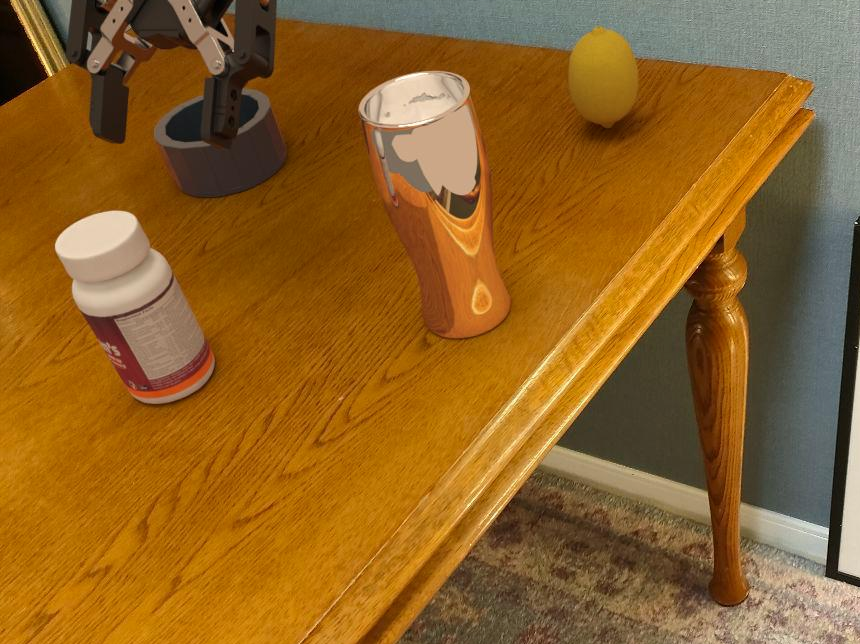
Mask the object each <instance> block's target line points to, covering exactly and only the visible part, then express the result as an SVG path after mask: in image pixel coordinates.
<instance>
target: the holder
mask: <svg viewBox="0 0 860 644" xmlns="http://www.w3.org/2000/svg"><path fill="white" fill-rule="evenodd" d="M203 97H204V94H201V95H199V96H196V97H194V98H191V99H189V100H187V101H184V102H183V103H180V104H178V105H177V106H175V107H174V108H172V109H171V110H170V111H168V112H166V113H165V114H164V115H163V116H162V117H161V118H160V119H159V121H158V122H157V123H156V125H155V126H154V128H153V131H154V132H153V138H154V142H155V143H156V145H157V148H158V150H159V152H160V154H161V157H162V159H163V161H164V163H165V165H166V167H167V169H168V171H169V173H170V176H171V178H172V180H173V182H174V183H175V185H176V186H177V188H178V189H179V190H180V192H182V193H184V194H185V195H188V196H191V197H195V198H221V197H225V196H230V195H234V194H238V193H241V192H244V191H247V190H249V189H251V188H254V187H256V186H259V185H260V184H262V183H263V182H266V181H267V180H269V179H270V178H271V177H273V176H274V175H275V174H276V173H277V172H279V171H280V169H281V168H282V167H283V166H284V164H286V161H287V158H288V149H287V145H286V142H285V138H284V136H283V133H282V130H281V127H280V125H279V122H278V119H277V116H276V114H275V111H274V108H273V106H272V103H271V100H270V98H269V96H267V95H266V94H265V93H263V92H261V91H259V90H258V89H251V88H245V87H244V88H243V89H242V96H241V107H240V114H239V116H240V118H239V129H238V133H237V136H236V138H235V139H232V146H231V147H230V148H229V149H220V148H216V147H214V146H212V145H210V144H207V143H205V142H204V141H203V140H202V138H201V133H200V132H201V120H202V108H203Z"/></svg>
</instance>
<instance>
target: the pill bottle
mask: <svg viewBox="0 0 860 644" xmlns="http://www.w3.org/2000/svg"><path fill="white" fill-rule="evenodd" d="M54 250H55V253H56V255H57V257H58V258H59V261H60V262H61V263H62V265H63V267H64V269H65V271H66V273H67V275H68V276H69V277H70V278H71V279H72V284H71V295H72V298H73V301H74V303H75V305H76V306H77V308H78V310H79V312H80V313H81V315H82V316H83V318H84V320H85V321H86V323H87V324H88V326H89V328H90V330H91V331H92V332H93V334H94V336H95V338H96V339H97V341H98V343H99V344H100V346H101V347H102V349H103V352H104V353H105V354H106V356H107V358H108V360H109V362H110V363H111V364H112V366H113V368H114V370H115V371H116V373H117V375H118V377H119V378H120V379H121V381H122V383H123V385H124V386H125V388H126V389H127V391H128V393H129V394H130V395H131V396H132V397H133V398H134V399H136V400H138V401H140V402H142V403H144V404H151V405H154V404H155V405H162V404H168V403H171V402H173V403H174V402H175V401H179V400H182V399H184V398H187V397H189V396H190V395H192V394H194V393H195V392H197V391H198V390H200V389H201V388H203V386H204V385H205V384H207V382H208V380H209V379H210V378H211V376H212V374H213V372H214V369H215V363H216V360H215V356H214V353H213V351H212V349H211V346H210V345H209V342H208V340H207V338H206V336H205V334H204V332H203V330H202V328H201V326H200V324H199V322H198V320H197V318H196V316H195V314H194V312H193V310H192V308H191V306H190V304H189V302H188V300H187V298H186V295H185V294H184V292H183V290H182V288H181V286H180V284H179V282H178V280H177V278H176V276H175V274H174V272H173V269H172V268H171V266H170V264H169V262H168V260H167V259H166V258H165V256H163V254H162V253H160V252H159V251H158V250H156V249H154V248H151V243H150V240H149V238H148V236H147V234H146V233H145V231H144V230H143V227H142V225H141V224H140V221H139V220H138V218H137V217H136V216H135V215H134V214H133V213H131V212H129V211H124V210H109V211H108V210H107V211H102V212H98V213H94V214H91V215H88V216H86V217H84V218H82V219H79V220H78V221H75V222H74V223H72V224H71V225H69V226H68V227H67V228H65V229H64V230H63V231H62V232H61V233H60V234H59V236H58V237H57V239H56V240H55V244H54Z"/></svg>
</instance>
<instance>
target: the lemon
mask: <svg viewBox="0 0 860 644" xmlns="http://www.w3.org/2000/svg"><path fill="white" fill-rule="evenodd" d="M567 73H568V74H567V80H568V82H567V83H568V90H569V94H570V97H571V98H570V99H571V100H572V103H573V105H574V107H575V108H576V109H575V110H577V112H578V113H579V115H581V116H582V117H583V118H584V119H585V120H586V121H589V122H591V123H593V124H596V125H600V126H602V127H603V128H604V129H611V128H612V127H613V126H614V125H615V123H617V122H619V121H621V120H622V119H624V118H625V117H626V116H627V115H628V114H629V113H630V111H631V110H632V108H633V107H634V105H635V103H636V100H637V96H638V91H639V80H640V79H639V69H638V64H637V60H636V57H635V55H634V52H633V49H632V47H631V45H630V43H629V42H628V41H627V39H626V38H624V36H622V35H621V34H620V33H618V32H616V31H614V30H611V29H607V28H604V27H603V26H601V25H599V26H595V27H593V29H592V30H590V31H589V32H587V33H585V34H584V35H583V36H582V37H580V39H579V40H578V41H577V42H576V44H575V45H574V47H573V49H572V51H571V53H570V57H569V62H568V71H567Z"/></svg>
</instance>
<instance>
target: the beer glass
mask: <svg viewBox="0 0 860 644" xmlns="http://www.w3.org/2000/svg"><path fill="white" fill-rule="evenodd" d="M358 116H359V118H360V122H361V125H362V131H363V136H364V141H365V146H366V150H367V154H368V159H369V163H370V167H371V170H372V175H373V178H374V182H375V185H376V189H377V191H378V194H379V197H380V200H381V203H382V204H383V206H384V209H385V210H386V213H387V215H388V218H389V220H390V222H391V224H392V226H393V229H394V230H395V232H396V234H397V236H398V238H399V240H400V242H401V244H402V246H403V248H404V250H405V252H406V254H407V256H408V257H409V260H410V262H411V264H412V266H413V268H414V272H415V274H416V277H417V281H418V286H419V290H420V300H421V301H420V302H421V313H422V319H423V322H424V324H425V327H426V328H427V329H428V330H429V331H430V332H431V333H433V334H435V335H436V336H439V337H442V338H447V339H458V340H459V339H467V338H468V339H469V338H473V337H477V336H481V335H483V334H485V333H487V332H489V331H491V330H493V329H495V328H496V327H497V326H499V325H500V324H501V323H502V322H503V321H504V320H505V319H506V317H507V316H508V314H509V312H510V311H511V304H512V303H511V297H510V294H509V291H508V289H507V285H506V283H505V282H504V280H503V278H502V275H501V273H500V270H499V267H498V263H497V260H496V259H497V258H496V254H495V247H494V216H493V215H494V214H493V208H494V207H493V189H492V187H493V186H492V174H491V167H490V163H489V156H488V151H487V146H486V142H485V138H484V133H483V130H482V126H481V123H480V119H479V117H478V112H477V110H476V107H475V103H474V99H473V96H472V93H471V86H470V83H469V82H468V81H467V79H465V77H463V76H461V75H460V74H457V73H455V72H449V71H445V70H443V71H442V70H425V71H416V72H412V73H408V74H404V75H400V76H397V77H394V78H392V79H389V80H387V81H385V82H383V83H381V84H379V85H377V86H376V87H373V89H371V90H370V91H368V92H367V94H366V95H365V96H364V97H363V98H362V99H361V101H360V103H359V105H358Z"/></svg>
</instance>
